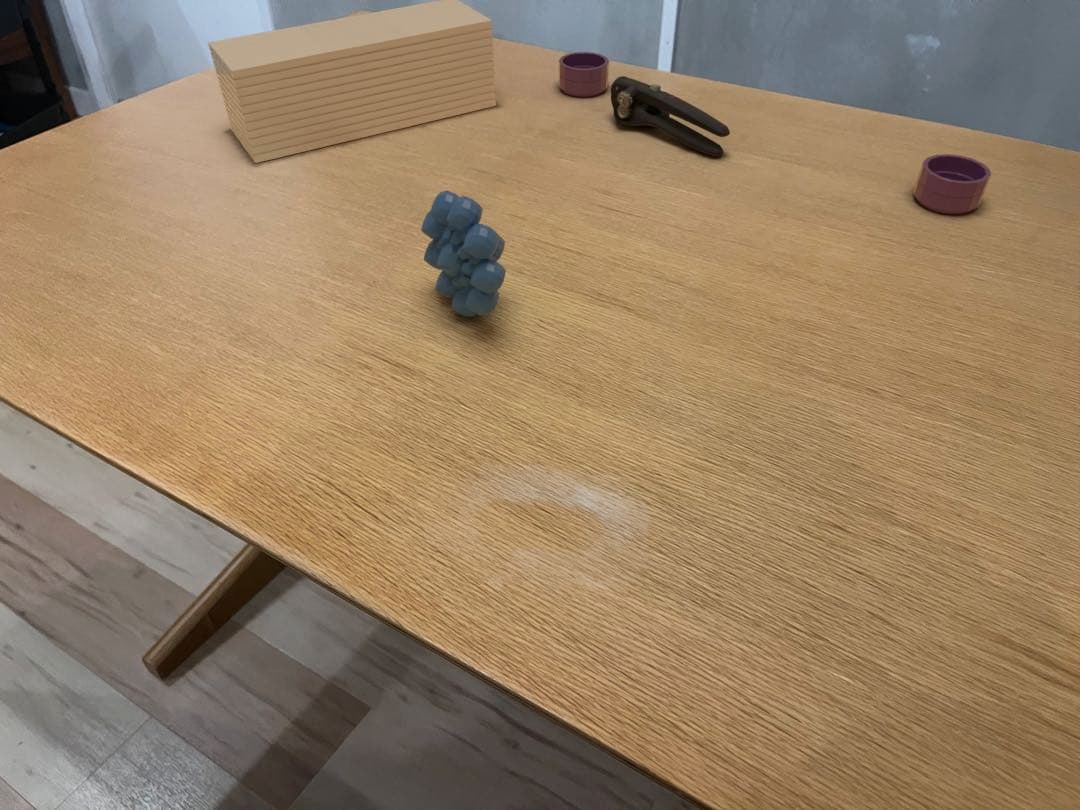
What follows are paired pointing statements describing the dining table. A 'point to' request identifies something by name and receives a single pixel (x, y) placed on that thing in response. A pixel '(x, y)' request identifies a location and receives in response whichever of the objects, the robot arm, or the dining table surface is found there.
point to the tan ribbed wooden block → (354, 76)
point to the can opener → (664, 114)
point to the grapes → (464, 254)
